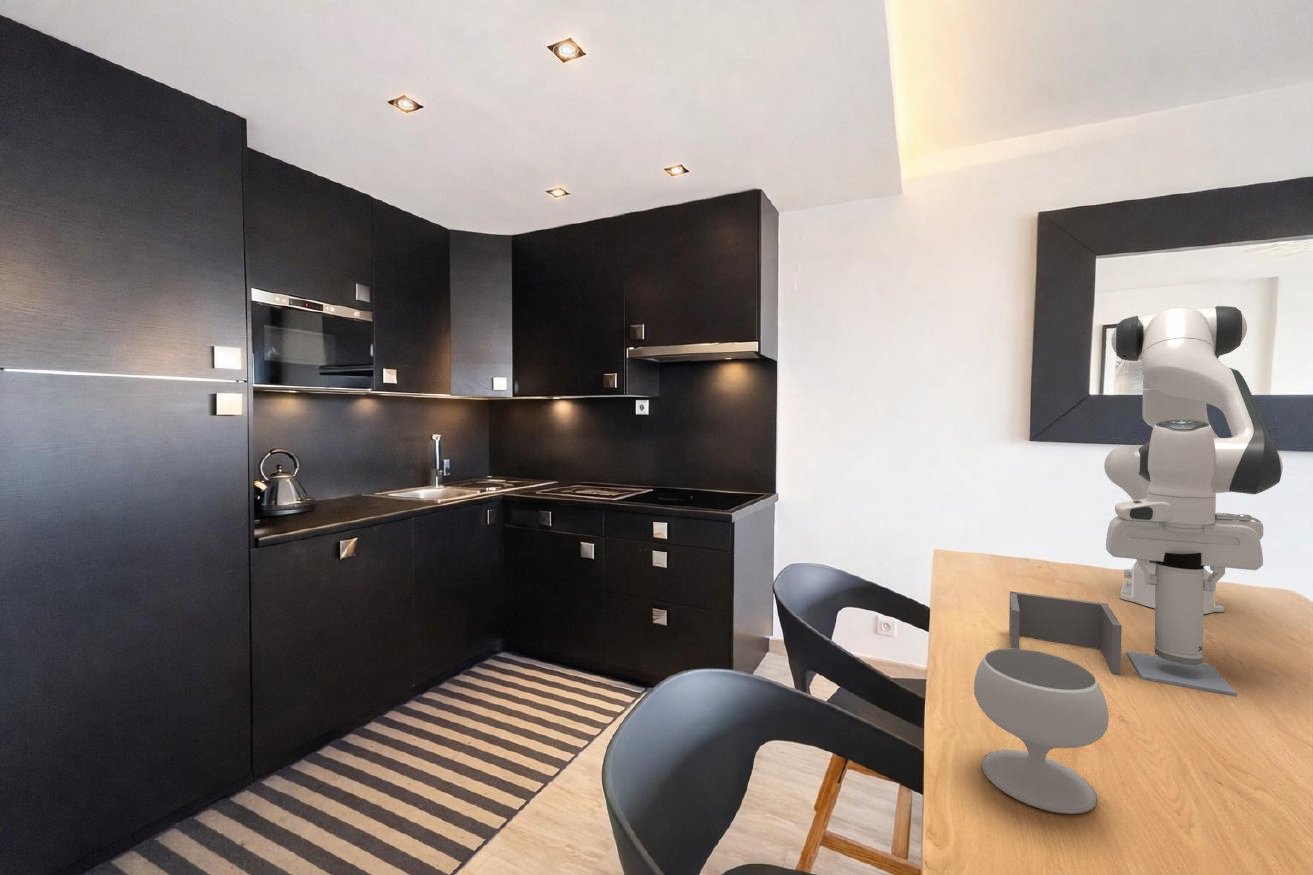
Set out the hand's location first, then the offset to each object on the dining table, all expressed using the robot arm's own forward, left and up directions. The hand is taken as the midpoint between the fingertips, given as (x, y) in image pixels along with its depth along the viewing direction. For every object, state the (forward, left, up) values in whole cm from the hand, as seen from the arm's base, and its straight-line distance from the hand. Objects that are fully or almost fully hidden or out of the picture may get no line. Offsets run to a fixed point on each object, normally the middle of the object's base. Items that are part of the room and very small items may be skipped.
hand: (1178, 587), depth 97 cm
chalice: (+48, -24, -16) cm, 56 cm away
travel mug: (0, 0, -13) cm, 13 cm away
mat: (0, 0, -16) cm, 16 cm away
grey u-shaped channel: (0, -17, -16) cm, 23 cm away
